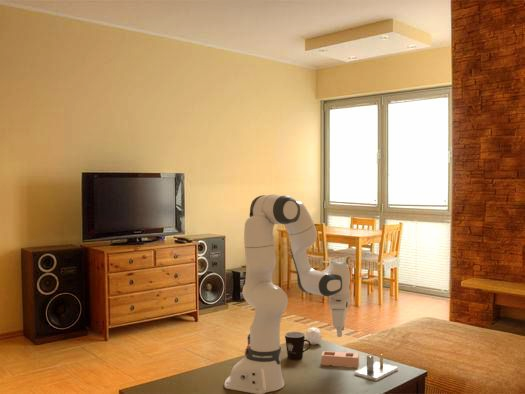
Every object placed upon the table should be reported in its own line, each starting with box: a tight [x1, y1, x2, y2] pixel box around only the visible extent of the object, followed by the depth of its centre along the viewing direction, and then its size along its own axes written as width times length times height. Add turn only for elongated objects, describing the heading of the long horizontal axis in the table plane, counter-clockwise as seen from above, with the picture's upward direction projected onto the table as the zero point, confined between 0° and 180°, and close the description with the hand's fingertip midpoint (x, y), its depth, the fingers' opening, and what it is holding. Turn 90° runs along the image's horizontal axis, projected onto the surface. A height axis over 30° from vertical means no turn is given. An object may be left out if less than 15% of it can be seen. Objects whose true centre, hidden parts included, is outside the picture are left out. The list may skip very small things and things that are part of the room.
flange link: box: [320, 350, 360, 368], centre depth 222 cm, size 15×6×4 cm, turn 76°
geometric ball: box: [305, 327, 323, 346], centre depth 250 cm, size 8×8×8 cm
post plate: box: [353, 353, 399, 382], centre depth 212 cm, size 16×10×8 cm, turn 136°
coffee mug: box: [284, 331, 311, 361], centre depth 230 cm, size 12×9×10 cm
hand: (340, 333), depth 222 cm, fingers open, 8 cm apart
